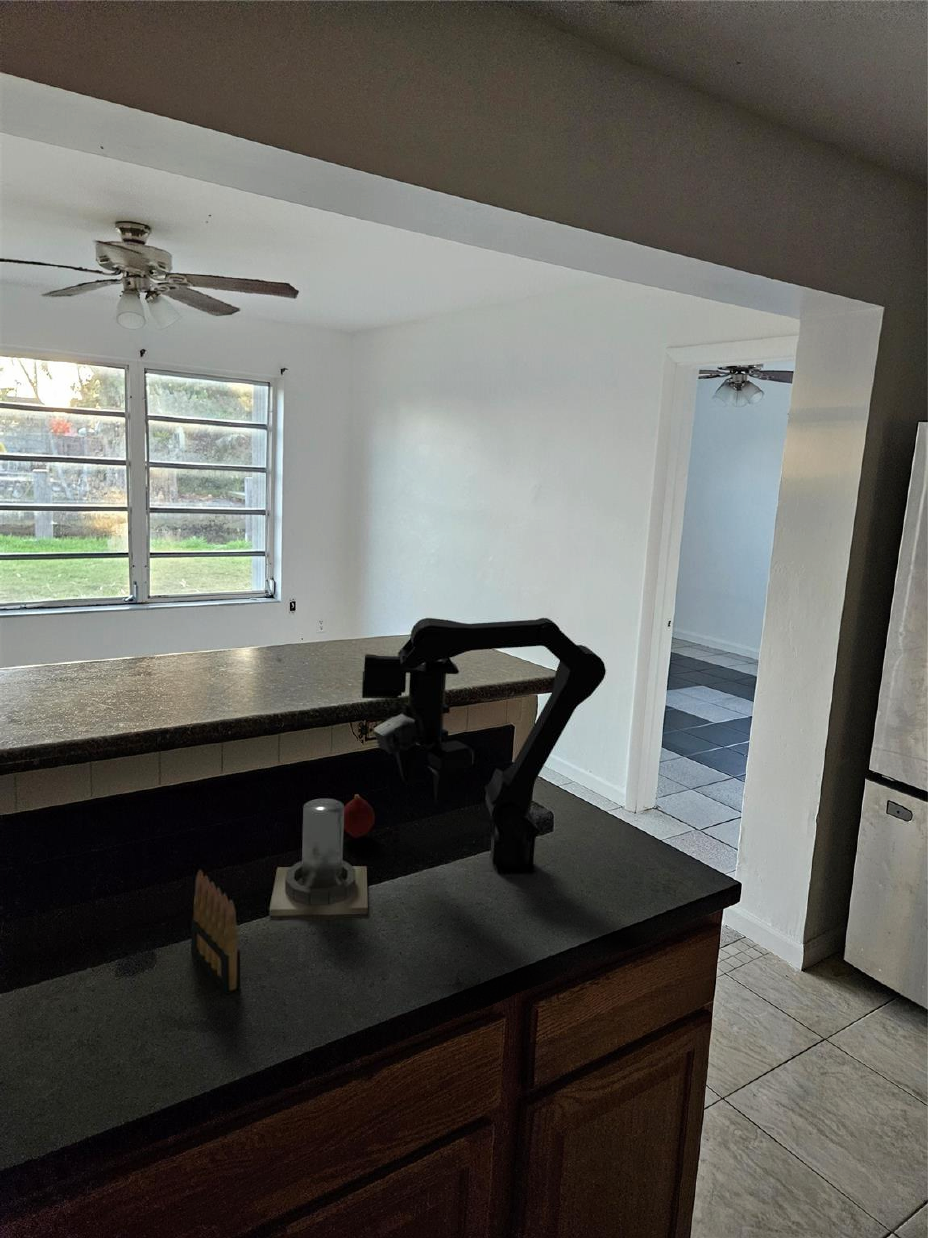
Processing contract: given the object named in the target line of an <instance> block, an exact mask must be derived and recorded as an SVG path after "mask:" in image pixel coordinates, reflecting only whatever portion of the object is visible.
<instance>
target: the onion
mask: <svg viewBox="0 0 928 1238" xmlns="http://www.w3.org/2000/svg"><path fill="white" fill-rule="evenodd" d="M375 818H376V817H375V813H374V809H373V808H372V805H370V804H369V803H368V802H367V801H366V800H365V799H363V798H362V797H361V796H360V795H359V794H357V793H356V794H354V799H352V800H350V801H348V803H346V804H345V805H344V828H343V830H345V831H346V832H347V833H348V834H349V835H350V836H351V837H353V838H355V839H359V838H360V837H362V836H364V835H365V834H368V832H370V830H371V829H372V827H373V825H374V823H375V820H376V819H375Z"/></svg>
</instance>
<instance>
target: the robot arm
mask: <svg viewBox="0 0 928 1238" xmlns="http://www.w3.org/2000/svg"><path fill="white" fill-rule="evenodd" d="M573 641H574V640H572V639H571V638H569V637H568V636H567V635H566V634H565V633H564V632H563V631H562V630H561V629H560V627H559V626H558V625H557V624H556V623H555V622H554V621H553V620H552V619H550V618H548V617H540V618H537V619H527V620H525V619H523V620H508V621H507V620H506V621H494V622H493V621H491V622H477V623H475V622H473V623H468V622H467V623H466V622H461V621H460V622H459V621H454V620H450V619H442V618H433V617H427V618H422V619H420V620H418V621H417V622H416V623H415V624H414V625H413V627H412V628H411V631H410V638H409V640H407V642H406V643H405V644H404V645H403V647H402V648H400V650H399V651H398V652H397V655H396V656H393V655H376V654H368V653H366V654H365V655H364V664H363V665H364V666H363V671H362V679H361V682H362V683H361V685H362V686H361V698H362V699H375V700H376V699H379V700H380V699H381V700H383V699H384V700H387V699H388V700H398V699H399V697H401V696H402V694H403V693H406V686H407V685H406V684H407V674H409V681H408V682H409V683H408V684H409V687H408V702H403V703H402V706H401V707H400V709H401V710H400V714H398V715H397V716H391V717H386V718H383V719H382V721H380V723H379V724H378V725H377V726H375V727H374V728H373V732H374V735H375V739H376V743H377V746H378V748H379V749H381V750H384V751H386V752H387V753H388V754H390V755H395V758H396V761H397V764H398V768H399V769H398V770H399V772H400V776H401V781H402V782H404V783H408V782H410V780H411V777H412V775H413V771H414V766H415V765H416V764H415V763H416V758H417V755H418V753H419V752H418V751H419V747H423V748H424V749H426V750H428V753H427V759H428V762H429V764H426V766H427V767H428V769H430V771H431V772H432V773H433V797H434V802H435V803H436V804H437V803H440V802H442V801H443V799H444V798H445V797H446V794H447V793H448V791H449V789H450V787H451V786H452V784H453V782H454V781H455V779H456V778H457V776H458V775H459V773H460V772H461V771H462V769H465V768H467V767H468V766H473V764H474V751H473V749H472V748H471V747H470V746H468V745H465V744H464V743H462V742H460V741H458V740H452V741H446V742H441V741H442V739H447V738H449V731H448V730H447V729H445V728H444V719H445V717H444V715H445V714H449V713H450V709H451V708H450V706H449V705H447V704H445V702H446V700H445V699H446V682H447V675H458V674H459V673H460V671H459V668H458V666H457V665H456V664H455V663H454V661H452V660H451V658H455V657H457V656H459V655H462V654H464V653H467V652H471V651H483V650H495V649H496V650H497V649H499V650H500V649H513V648H514V649H515V648H528V647H545V648H546V649H547V651H549V652H550V653H551V654H552V655H553V656H555V658H557V659H558V660H559V661H558V662H559V663H558V665H557V668H556V671H555V674H554V681H553V687H552V691H551V693H550V695H549V698H548V699H547V701H546V703H545V705H544V706H543V708H542V710H541V712H540V714H539V715H538V717H537V719H536V721H535V723H534V725H533V726H532V728H531V730H530V732H529V734H528V735H527V737H526V739H525V741H524V742H523V744H522V746H521V748H520V750H519V752H518V754H517V756H516V757H515V759H514V761H513V762H512V764H511V766H508V768H507V769H506V770H504V771H502V770H500V768H499V769H498V768H495V770H494V773H493V775H492V778H491V780H490V781H489V782H488V784H487V785H485V786H484V789H485V791H486V793H485V803H486V805H487V808H488V811H489V814H490V816H491V819H492V821H493V823H494V825H495V828H494V832H495V833H493V834H492V835H491V840H490V853H489V854H490V855H489V857H490V859H491V864H493V865H494V867H495V871H496V872H497V873H498V874H515V873H517V874H522V873H523V874H524V873H525V874H527V873H528V874H529V873H530V874H532V873H536V870H537V869H536V867H535V864H534V859H535V858H534V856H535V847H536V846H535V845H536V839H537V836H538V834H539V832H540V831H539V830H540V829H539V827H538V826H537V823H536V821H535V819H534V817H533V815H532V813H531V811H530V807H531V804H532V799H533V794H534V789H535V783H536V780H537V779H538V777H539V776H540V773H541V771H542V770H543V769H544V768H543V767H544V766H545V764H546V763H547V760H548V759H549V757H550V756H551V753H552V751H553V750H554V748H555V746H556V744H557V743H558V741H559V739H560V737H561V736H562V733H563V732H564V730H565V729H566V726H567V725H568V723H569V721H570V719H571V717H572V715H573V714H574V712H575V710H576V709H577V708H578V706H579V705H581V704H582V703H583V702H585V701H586V700H587V699H588V698H590V697H591V696H592V695H593V694H594V692H595V691H596V690H597V689H598V688H599V686H600V685H601V684H602V683H603V681H604V679H605V676H606V673H607V669H606V665H605V663H604V661H603V659H602V658H601V657H600V656H599V655H597V654H596V653H595V652H594V651H593V650H591V649H590V648H588V647H587V646H585V645H582V644H576V643H575V642H573Z"/></svg>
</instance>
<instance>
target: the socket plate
mask: <svg viewBox="0 0 928 1238" xmlns="http://www.w3.org/2000/svg"><path fill="white" fill-rule="evenodd" d="M367 868H368V867H367V866H366V865H365V866H364V865H363V866H361V865H359V866H358V865H357V866H355V865H354V866H352V865H351V864H350V863H348V862H347V861H346V860H342V883H341V884H340V885H337V886H334V887H331V888H327V889H312V888H308V887H305V886H302V860H301V861H297V862H296V863H295V864H293V865H292V866H291V867H289V866H287V867H286V866H284V867H281V866H280V867H277V869H276V873H275V880H274V884H273V888H272V889H273V890H272V893H271V894H272V895H271V899H270V904H269V910H268V911H269V914H268V915H269V917H278V916H279V917H281V916H283V917H285V916H322V915H325V916H328V915H331V916H333V915H334V916H335V915H368V875H367V873H368V872H367Z"/></svg>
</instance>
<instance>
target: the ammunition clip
mask: <svg viewBox="0 0 928 1238" xmlns="http://www.w3.org/2000/svg"><path fill="white" fill-rule="evenodd" d="M216 887H217V886H216V885H215V883H214V881H211V882H210V879H209V877H208V876H207V875H205V876H204V872H203V871H202V869H199V870H198V872H197V874H196V878H195V891H194V900H193V917H192V918H191V926H190V927H191V933H190V934H191V936H190V937H191V940H190V941H191V942H190V944H191V945H190V953H191V955H192V956H193V957H194V958H195V960H197V961H198V963H199V964H200V965H201V966H202V967H203V969H204V970H205V971H206V973H207V974H208V975H209V976H210V977H211V978H212V979H213V981H214V982H215V983H216V984H217V985H218V986H219V988H220V989H221V990H222V991H223V992H224V994H226V995H228V994H230V993H233V992H235V991H238V990H240V989H241V950H239V948H238V946H239V944H238V942H239V941H238V938H239V937H238V936H239V934H238V928H237V927H238V926H237V915H236V908H235V904H234V901H233V899H228V896H227V893H222V890H221V888H220V887H217V888H216Z"/></svg>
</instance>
